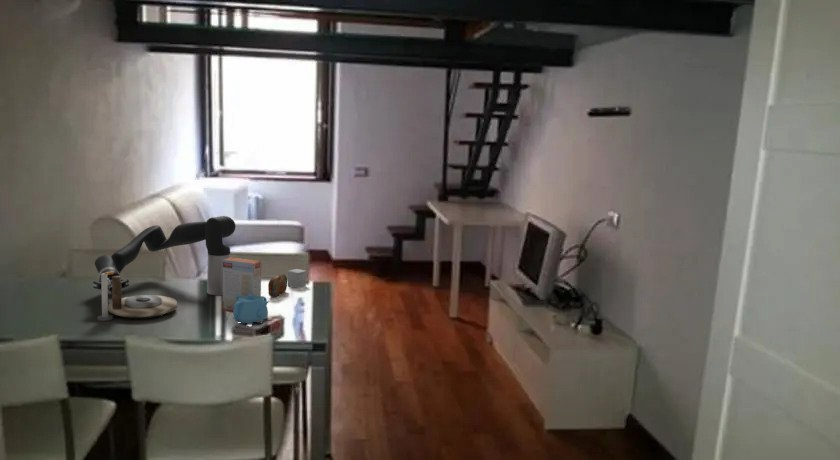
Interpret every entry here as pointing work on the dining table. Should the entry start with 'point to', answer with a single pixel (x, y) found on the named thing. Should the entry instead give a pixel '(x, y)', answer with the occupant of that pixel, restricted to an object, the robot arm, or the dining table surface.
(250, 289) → the cracker box
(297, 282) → the grey rounded block
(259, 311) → the teapot
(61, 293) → the dining table surface
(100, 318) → the post
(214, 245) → the robot arm
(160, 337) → the dining table surface
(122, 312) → the turntable
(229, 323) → the dining table surface
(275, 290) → the brown rounded slab
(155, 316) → the turntable base
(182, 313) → the dining table surface
